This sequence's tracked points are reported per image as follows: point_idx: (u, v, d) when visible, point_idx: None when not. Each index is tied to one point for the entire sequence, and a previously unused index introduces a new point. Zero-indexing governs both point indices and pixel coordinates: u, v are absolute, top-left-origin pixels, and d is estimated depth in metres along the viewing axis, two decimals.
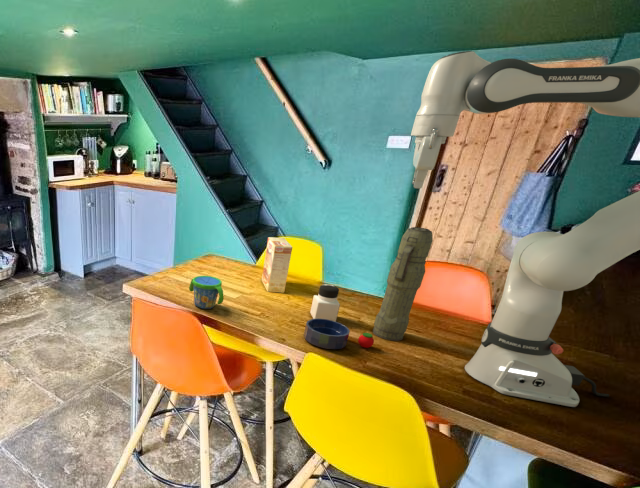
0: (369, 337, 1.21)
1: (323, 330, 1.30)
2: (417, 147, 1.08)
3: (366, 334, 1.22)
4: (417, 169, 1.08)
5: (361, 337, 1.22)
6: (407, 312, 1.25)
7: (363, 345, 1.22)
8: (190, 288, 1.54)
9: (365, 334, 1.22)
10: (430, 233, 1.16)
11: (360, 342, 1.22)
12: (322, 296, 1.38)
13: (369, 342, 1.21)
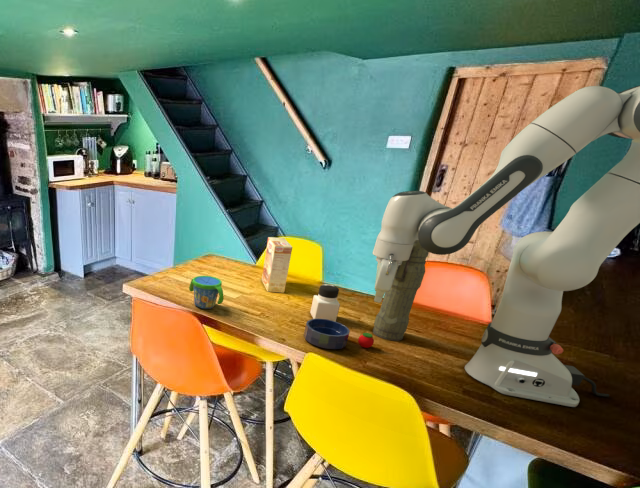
0: (369, 337, 1.21)
1: (323, 330, 1.30)
2: None
3: (366, 334, 1.22)
4: None
5: (361, 337, 1.22)
6: (407, 312, 1.25)
7: (363, 345, 1.22)
8: (190, 288, 1.54)
9: (365, 334, 1.22)
10: None
11: (360, 342, 1.22)
12: (322, 296, 1.38)
13: (369, 342, 1.21)
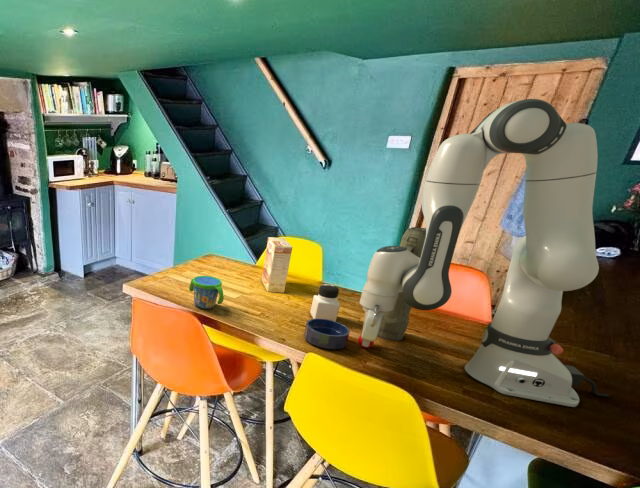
0: None
1: (323, 330, 1.30)
2: None
3: None
4: None
5: None
6: (407, 312, 1.25)
7: None
8: (190, 288, 1.54)
9: None
10: None
11: (360, 342, 1.22)
12: (322, 296, 1.38)
13: None
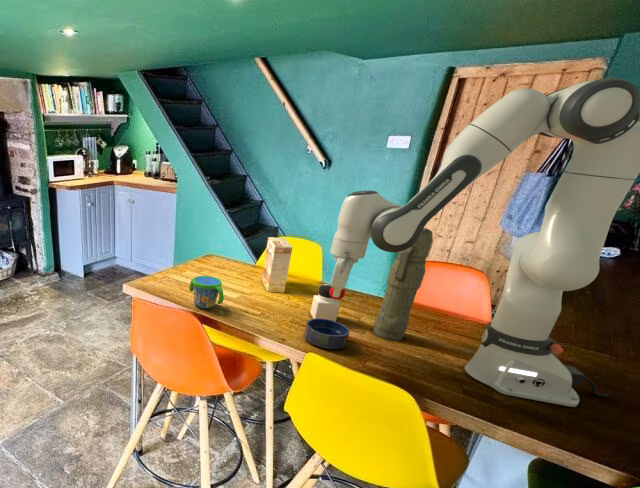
0: None
1: (323, 330, 1.30)
2: None
3: None
4: None
5: (332, 288, 1.19)
6: (407, 312, 1.25)
7: None
8: (190, 288, 1.54)
9: None
10: (430, 233, 1.16)
11: (331, 293, 1.19)
12: (322, 296, 1.38)
13: None
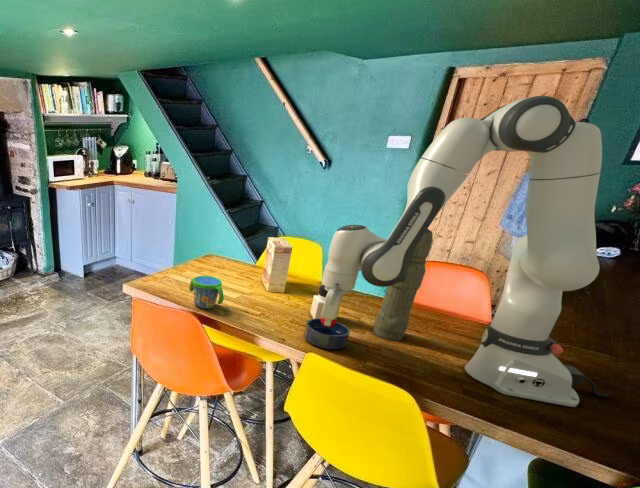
0: None
1: (323, 330, 1.30)
2: None
3: None
4: None
5: None
6: (407, 312, 1.25)
7: None
8: (190, 288, 1.54)
9: None
10: (430, 233, 1.16)
11: (322, 322, 1.23)
12: (322, 296, 1.38)
13: None
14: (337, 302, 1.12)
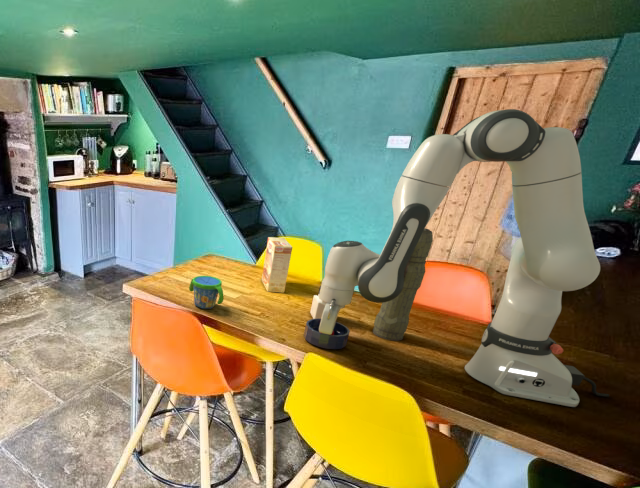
0: None
1: None
2: None
3: None
4: None
5: None
6: (407, 312, 1.25)
7: None
8: (190, 288, 1.54)
9: None
10: (430, 233, 1.16)
11: None
12: None
13: None
14: (334, 317, 1.14)
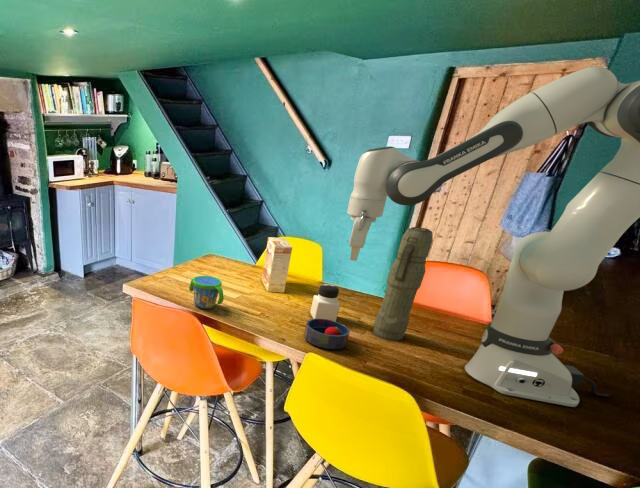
0: (339, 332, 1.24)
1: (323, 330, 1.30)
2: None
3: None
4: None
5: (333, 327, 1.25)
6: (407, 312, 1.25)
7: (330, 334, 1.24)
8: (190, 288, 1.54)
9: None
10: (430, 233, 1.16)
11: (330, 330, 1.24)
12: (322, 296, 1.38)
13: (336, 335, 1.24)
14: (366, 227, 1.06)
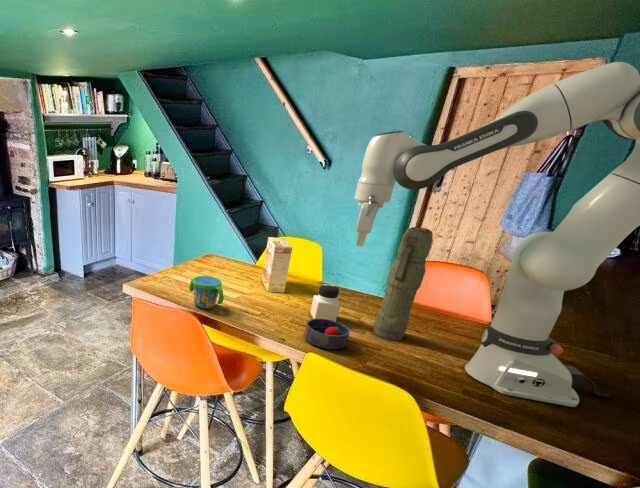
0: (339, 332, 1.24)
1: (323, 330, 1.30)
2: None
3: None
4: None
5: (333, 327, 1.25)
6: (407, 312, 1.25)
7: (330, 334, 1.24)
8: (190, 288, 1.54)
9: None
10: (430, 233, 1.16)
11: (330, 330, 1.24)
12: (322, 296, 1.38)
13: (336, 335, 1.24)
14: (373, 212, 1.05)
